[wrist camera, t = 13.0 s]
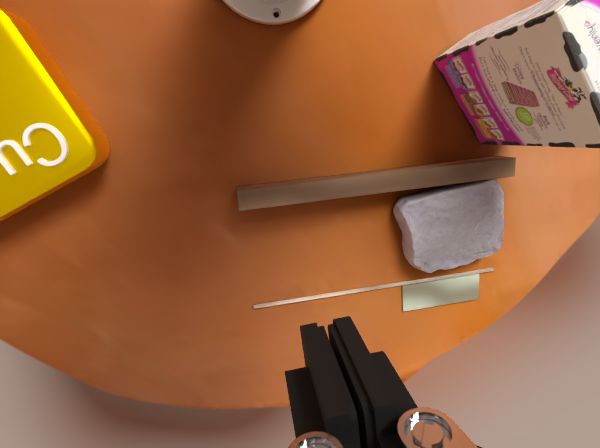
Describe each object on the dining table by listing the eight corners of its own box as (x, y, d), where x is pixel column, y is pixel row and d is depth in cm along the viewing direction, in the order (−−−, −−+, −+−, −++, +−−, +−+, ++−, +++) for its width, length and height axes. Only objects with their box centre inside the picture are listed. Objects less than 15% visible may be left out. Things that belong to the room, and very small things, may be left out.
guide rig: (236, 186, 40) (236, 191, 37) (497, 155, 43) (515, 157, 41) (257, 334, 44) (258, 349, 41) (492, 295, 48) (508, 306, 45)
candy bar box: (514, 118, 43) (674, 111, 27) (479, 145, 43) (617, 154, 27) (469, 29, 40) (619, -37, 24) (430, 59, 40) (555, 12, 24)
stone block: (484, 239, 48) (485, 166, 44) (508, 258, 44) (512, 179, 39) (396, 264, 48) (387, 192, 43) (412, 286, 43) (404, 209, 39)
